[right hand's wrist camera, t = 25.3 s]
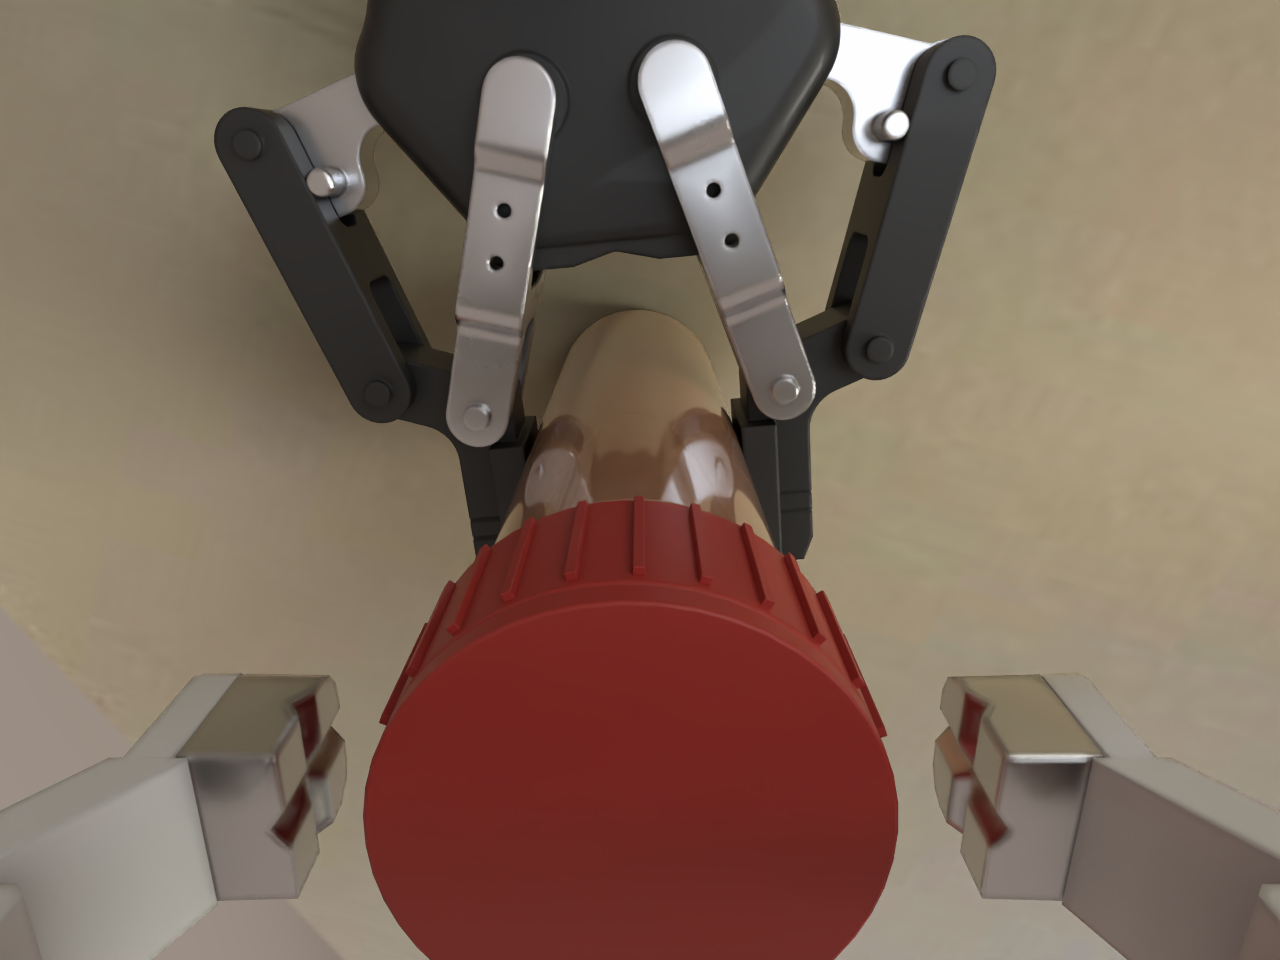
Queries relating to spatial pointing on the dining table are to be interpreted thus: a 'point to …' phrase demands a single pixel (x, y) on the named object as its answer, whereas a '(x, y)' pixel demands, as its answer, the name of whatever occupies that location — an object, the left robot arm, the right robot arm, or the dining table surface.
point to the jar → (636, 428)
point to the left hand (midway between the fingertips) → (649, 578)
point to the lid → (631, 752)
